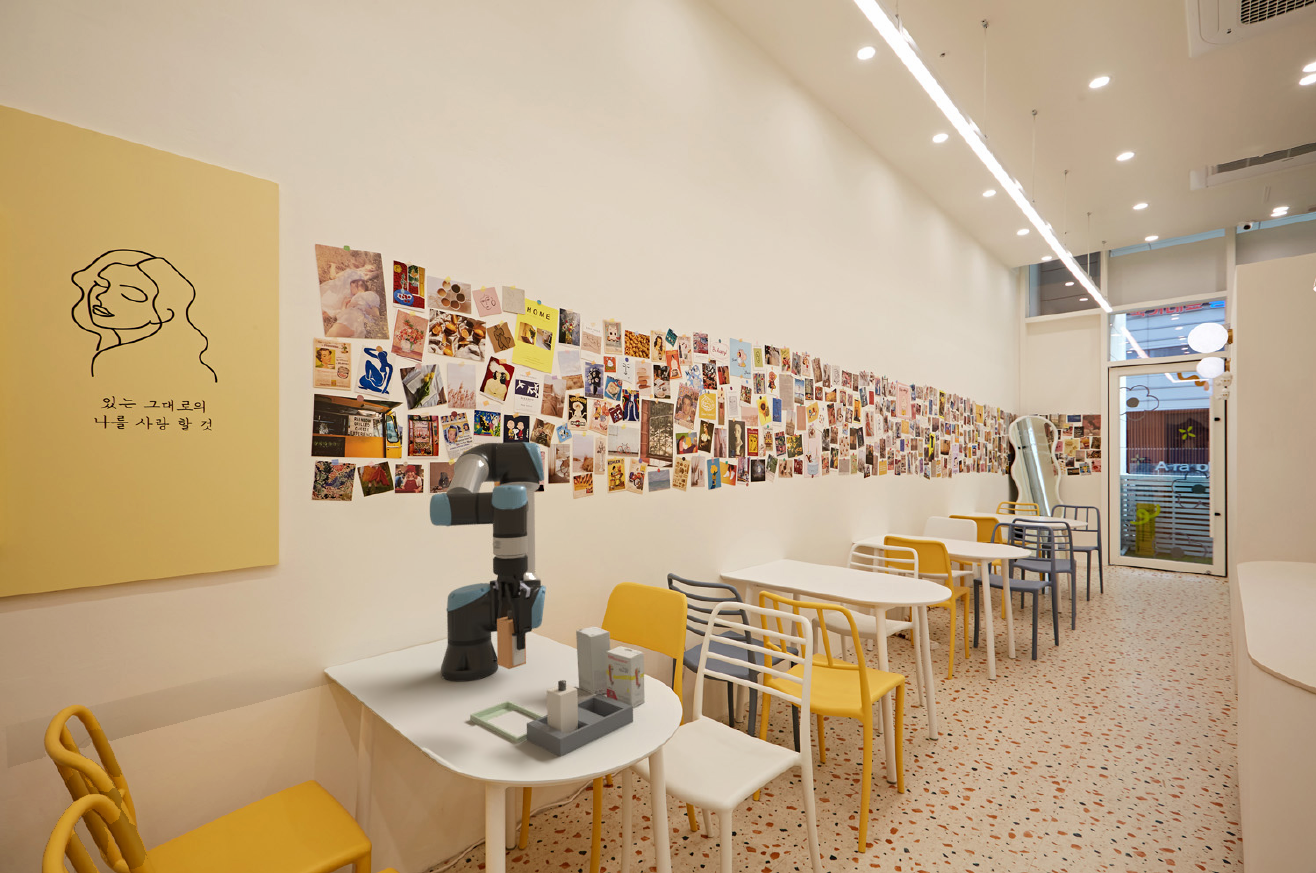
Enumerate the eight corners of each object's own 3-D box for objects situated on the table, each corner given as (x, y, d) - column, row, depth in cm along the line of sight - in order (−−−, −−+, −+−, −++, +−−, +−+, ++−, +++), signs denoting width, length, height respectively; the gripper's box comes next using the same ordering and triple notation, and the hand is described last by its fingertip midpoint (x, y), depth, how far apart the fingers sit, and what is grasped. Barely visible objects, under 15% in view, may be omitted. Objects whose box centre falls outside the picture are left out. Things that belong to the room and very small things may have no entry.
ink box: (605, 700, 145) (604, 650, 146) (620, 693, 149) (619, 645, 149) (631, 709, 140) (630, 657, 140) (645, 702, 143) (644, 652, 144)
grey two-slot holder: (526, 743, 124) (526, 723, 124) (599, 711, 139) (598, 693, 139) (560, 760, 116) (560, 739, 117) (633, 724, 131) (632, 706, 131)
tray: (470, 721, 135) (470, 714, 135) (508, 707, 142) (508, 700, 142) (517, 745, 123) (517, 738, 123) (556, 728, 130) (556, 721, 130)
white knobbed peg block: (547, 739, 124) (546, 682, 124) (564, 731, 127) (563, 676, 127) (561, 746, 121) (560, 687, 121) (578, 738, 124) (577, 681, 124)
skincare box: (613, 692, 150) (612, 632, 150) (591, 698, 146) (590, 636, 147) (597, 682, 157) (596, 624, 157) (576, 687, 153) (575, 628, 154)
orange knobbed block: (497, 664, 133) (496, 611, 133) (514, 659, 136) (513, 607, 137) (509, 669, 130) (508, 615, 130) (526, 663, 133) (525, 610, 134)
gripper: (474, 553, 137) (475, 656, 136) (519, 562, 125) (520, 675, 125) (502, 548, 142) (504, 648, 142) (548, 556, 131) (550, 665, 130)
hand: (511, 660), depth 133 cm, fingers closed on orange knobbed block, 4 cm apart
